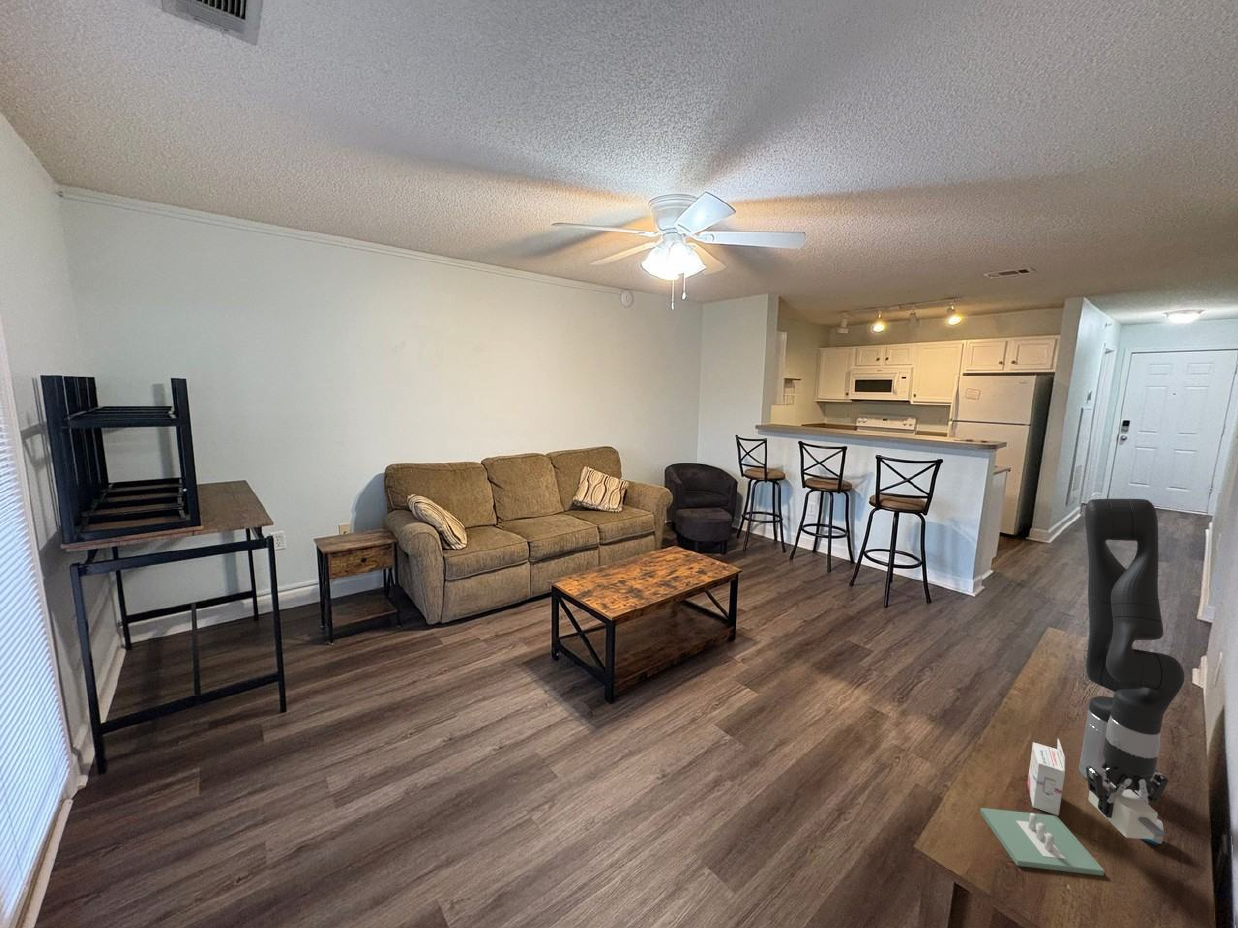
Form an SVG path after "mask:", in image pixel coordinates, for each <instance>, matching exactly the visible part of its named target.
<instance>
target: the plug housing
mask: <svg viewBox="0 0 1238 928" xmlns="http://www.w3.org/2000/svg"><path fill="white" fill-rule="evenodd" d="M1110 783H1111V782H1110ZM1111 784H1112V783H1111ZM1112 785H1113V784H1112ZM1113 786H1114V787H1115V788H1116V786H1115V785H1113ZM1109 792H1110V790H1109V789H1108V790H1107V792H1106V793H1108V794H1109ZM1087 801H1088V802H1089V803H1091V805H1092V806H1093V807H1094V808H1095V809H1097V810H1098V812H1099V813H1101V815H1103V816H1104V818H1106V820H1108V821H1109V822H1110V823H1111V825H1112V826H1113V827H1115V829H1117V831H1118V832H1120V834H1122V835H1123V836H1124V837H1125V838H1126V839H1140V840H1142V839H1153V838H1154V835H1155V836H1162V837H1163V838H1164V837H1165V836H1166V832H1163V831H1164V830H1163V831H1162V830H1161V829H1160V828H1159V827H1157V826H1156V821H1157V819H1158V815H1159V813H1158V812H1157V811H1156V810H1155V809H1153V808H1152V807H1151V805H1150V804H1149V803H1148V804H1147V803H1146V802H1145V801H1143V800H1142V799H1140V798H1139V796H1138V795H1137V794H1135V793H1134V792H1133V791H1131V790H1130V789H1127V790H1124V792H1123V793H1122V795H1121V796H1119V795H1118V796H1117V797H1116V798H1115V800H1114V802H1113V803H1114V806H1113V812H1112V818H1107V817H1106V816H1105V815H1104V814H1103V813H1102V812H1101V811H1100V810H1099V809H1098V801H1099V799H1098V798H1097V796H1096V795H1095V794H1094V793H1093V792H1091V791H1090V790H1089V793H1088V800H1087Z"/></svg>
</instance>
